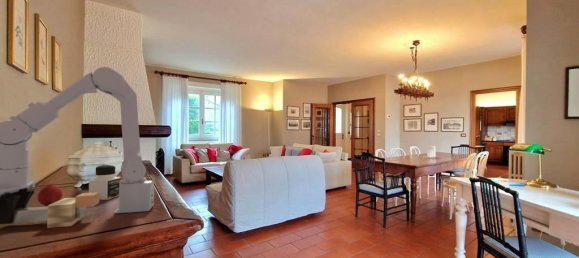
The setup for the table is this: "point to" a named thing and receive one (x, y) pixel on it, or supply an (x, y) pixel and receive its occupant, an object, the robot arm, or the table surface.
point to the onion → (49, 194)
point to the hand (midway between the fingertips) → (11, 221)
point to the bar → (38, 214)
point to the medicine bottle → (105, 182)
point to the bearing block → (62, 213)
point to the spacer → (87, 200)
